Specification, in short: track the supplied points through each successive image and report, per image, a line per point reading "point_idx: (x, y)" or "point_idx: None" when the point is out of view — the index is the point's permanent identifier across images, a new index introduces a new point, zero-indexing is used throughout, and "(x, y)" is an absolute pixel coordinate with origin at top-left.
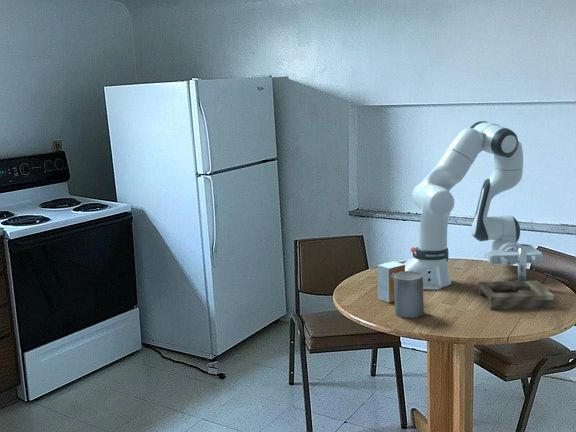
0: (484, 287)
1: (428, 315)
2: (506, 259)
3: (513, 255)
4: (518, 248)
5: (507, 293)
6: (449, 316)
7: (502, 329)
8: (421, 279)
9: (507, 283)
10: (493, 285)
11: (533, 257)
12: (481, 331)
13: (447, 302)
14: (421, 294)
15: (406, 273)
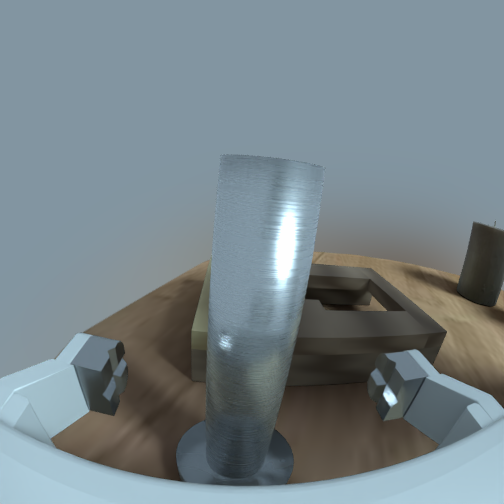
0: (409, 302)
1: (450, 291)
2: (424, 372)
3: (368, 473)
4: (323, 175)
5: (335, 274)
6: (422, 288)
7: (331, 260)
8: (473, 225)
9: (343, 320)
10: (389, 311)
11: (31, 377)
12: (359, 261)
13: (461, 325)
14: (467, 252)
15: (501, 229)
